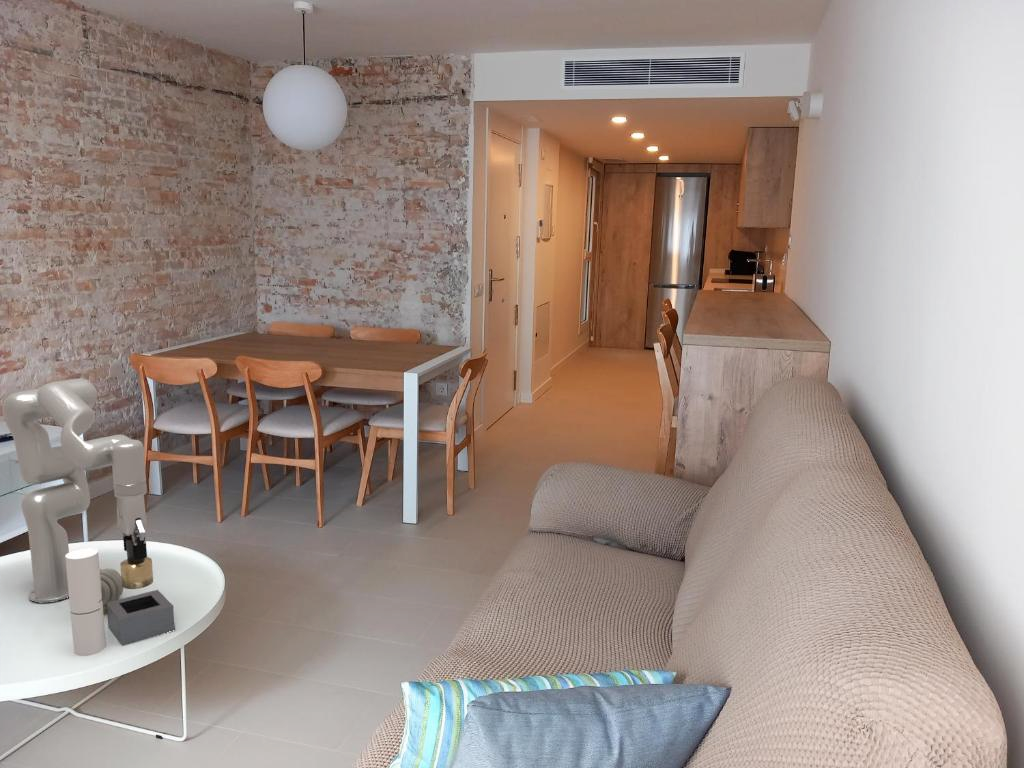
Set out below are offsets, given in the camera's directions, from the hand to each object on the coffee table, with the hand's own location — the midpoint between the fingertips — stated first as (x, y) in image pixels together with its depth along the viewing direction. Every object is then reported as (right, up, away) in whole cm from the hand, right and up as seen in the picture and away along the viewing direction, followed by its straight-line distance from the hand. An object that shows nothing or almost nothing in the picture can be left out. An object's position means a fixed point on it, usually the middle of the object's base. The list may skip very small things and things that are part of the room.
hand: (135, 553), depth 213 cm
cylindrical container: (-8, -22, -7) cm, 25 cm away
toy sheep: (-16, -19, +16) cm, 29 cm away
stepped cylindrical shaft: (0, -8, +1) cm, 8 cm away
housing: (0, -21, +3) cm, 21 cm away
